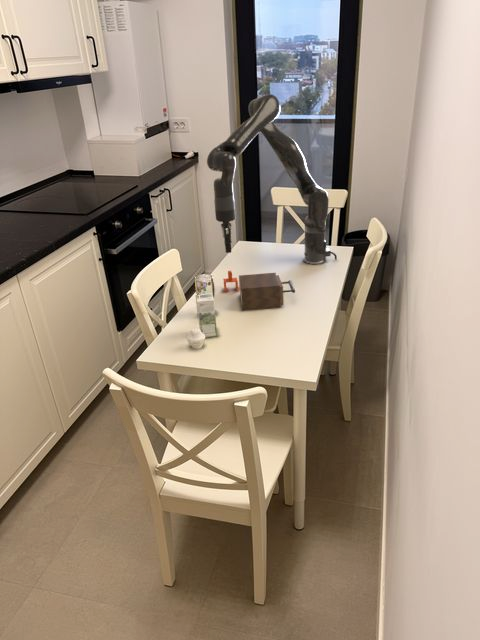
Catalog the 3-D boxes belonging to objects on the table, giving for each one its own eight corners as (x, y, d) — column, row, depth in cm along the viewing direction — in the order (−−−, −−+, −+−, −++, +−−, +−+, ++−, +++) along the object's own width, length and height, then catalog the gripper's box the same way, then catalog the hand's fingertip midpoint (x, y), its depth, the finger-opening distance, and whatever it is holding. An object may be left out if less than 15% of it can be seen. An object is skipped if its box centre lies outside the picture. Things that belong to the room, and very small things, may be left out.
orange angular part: (237, 288, 207) (236, 269, 203) (238, 291, 205) (236, 272, 200) (224, 289, 207) (222, 270, 202) (224, 292, 204) (223, 273, 200)
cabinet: (276, 293, 201) (275, 272, 197) (280, 307, 191) (279, 285, 186) (240, 296, 200) (238, 275, 196) (242, 310, 190) (241, 288, 185)
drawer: (291, 290, 201) (291, 274, 197) (295, 303, 191) (295, 285, 187) (245, 294, 199) (244, 277, 196) (248, 307, 190) (247, 289, 186)
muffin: (190, 341, 171) (188, 323, 168) (207, 342, 171) (205, 324, 167) (186, 351, 166) (183, 332, 162) (204, 351, 165) (202, 333, 162)
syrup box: (215, 328, 178) (211, 291, 171) (217, 336, 173) (214, 299, 166) (199, 331, 177) (195, 294, 170) (201, 339, 172) (197, 301, 165)
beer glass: (220, 313, 188) (217, 276, 180) (207, 320, 184) (203, 283, 176) (208, 308, 192) (204, 272, 184) (194, 314, 188) (190, 278, 180)
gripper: (236, 211, 182) (238, 254, 191) (233, 201, 194) (236, 242, 203) (215, 213, 181) (219, 256, 190) (214, 202, 193) (217, 243, 202)
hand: (228, 249), depth 196 cm, fingers open, 7 cm apart
